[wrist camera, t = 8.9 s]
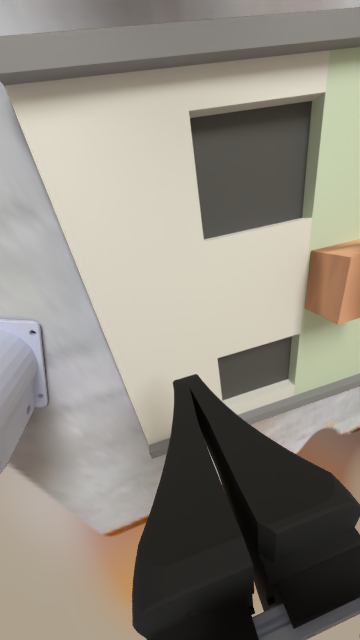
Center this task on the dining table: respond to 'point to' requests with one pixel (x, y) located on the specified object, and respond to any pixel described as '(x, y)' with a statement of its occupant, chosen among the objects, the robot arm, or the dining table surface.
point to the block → (335, 282)
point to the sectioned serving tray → (203, 196)
